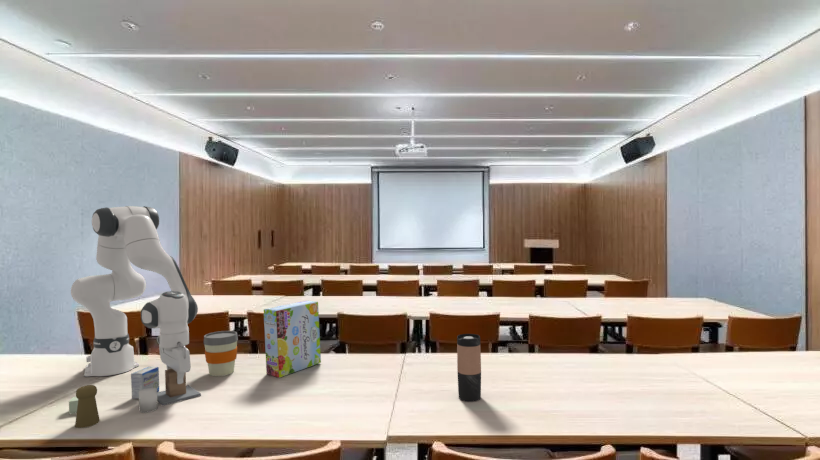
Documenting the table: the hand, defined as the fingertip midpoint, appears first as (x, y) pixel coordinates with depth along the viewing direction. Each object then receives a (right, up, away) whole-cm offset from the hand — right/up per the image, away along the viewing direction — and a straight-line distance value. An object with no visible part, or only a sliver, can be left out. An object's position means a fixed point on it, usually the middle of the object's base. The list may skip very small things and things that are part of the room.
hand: (175, 380), depth 159 cm
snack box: (+33, -5, +27) cm, 43 cm away
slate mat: (0, -5, 0) cm, 5 cm away
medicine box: (-11, -6, +2) cm, 13 cm away
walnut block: (0, -5, 0) cm, 4 cm away
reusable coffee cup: (+6, -5, +25) cm, 26 cm away
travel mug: (+99, -4, -7) cm, 99 cm away
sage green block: (-24, -6, -11) cm, 27 cm away
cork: (-15, -6, -21) cm, 27 cm away
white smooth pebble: (-3, -6, -11) cm, 13 cm away
